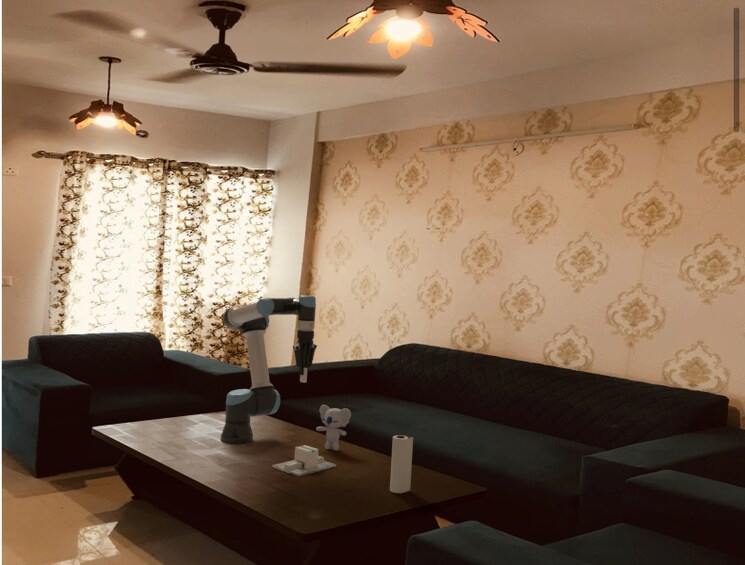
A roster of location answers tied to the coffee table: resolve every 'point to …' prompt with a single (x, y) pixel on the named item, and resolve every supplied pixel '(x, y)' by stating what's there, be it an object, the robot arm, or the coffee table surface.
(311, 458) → the block
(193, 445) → the coffee table surface
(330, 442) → the toy
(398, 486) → the paper towel roll
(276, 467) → the grey flat board
